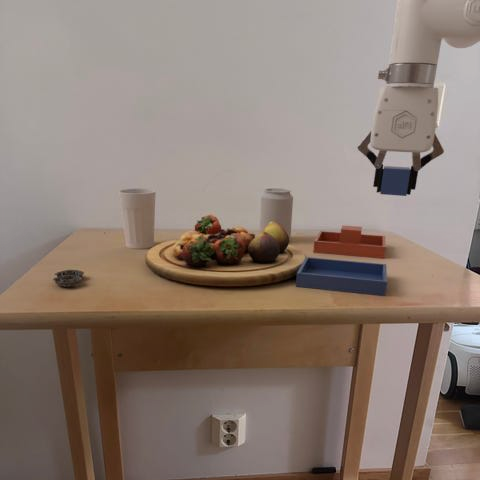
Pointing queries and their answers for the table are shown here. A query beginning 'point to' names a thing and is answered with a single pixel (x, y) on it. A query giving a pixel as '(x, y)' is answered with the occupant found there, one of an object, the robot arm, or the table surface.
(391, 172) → the blue block
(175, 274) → the wooden plate
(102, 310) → the table surface
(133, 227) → the cup
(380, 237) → the terracotta tray
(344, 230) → the terracotta block
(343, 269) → the blue tray
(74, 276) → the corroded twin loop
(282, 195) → the can
